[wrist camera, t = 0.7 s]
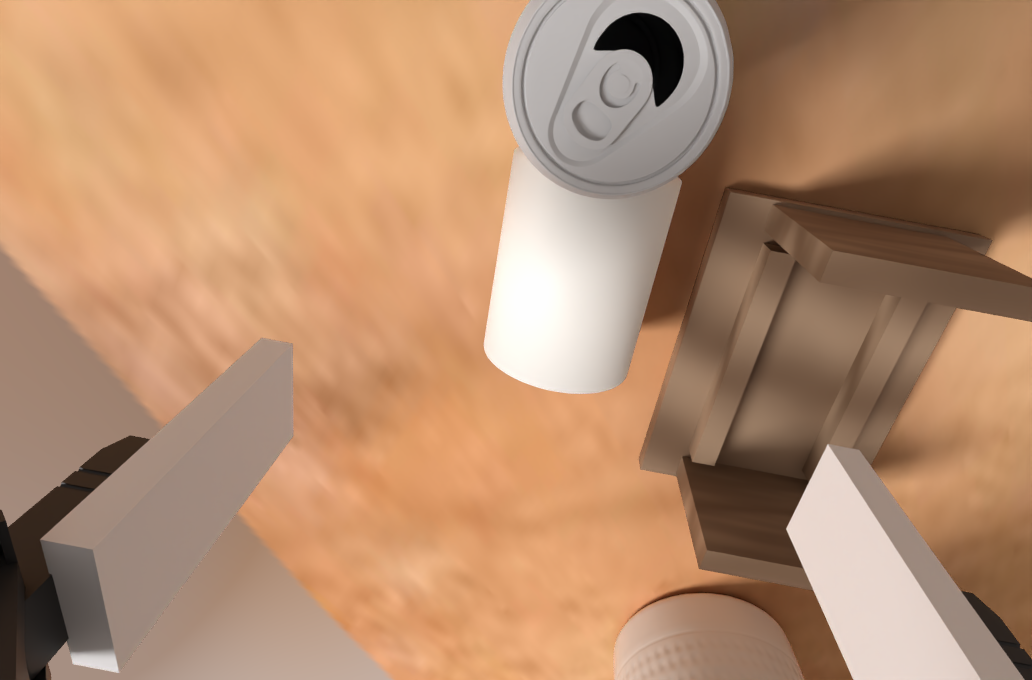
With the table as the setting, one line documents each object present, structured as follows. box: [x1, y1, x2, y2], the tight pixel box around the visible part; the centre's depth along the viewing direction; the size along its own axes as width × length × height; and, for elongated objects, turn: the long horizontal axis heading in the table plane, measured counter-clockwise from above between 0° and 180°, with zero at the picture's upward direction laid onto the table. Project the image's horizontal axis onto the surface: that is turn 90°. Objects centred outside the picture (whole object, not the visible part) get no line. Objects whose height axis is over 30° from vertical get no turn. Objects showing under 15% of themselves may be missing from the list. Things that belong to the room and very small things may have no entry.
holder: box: [639, 188, 1032, 591], centre depth 28 cm, size 16×12×8 cm
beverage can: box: [503, 0, 734, 199], centre depth 21 cm, size 6×6×12 cm
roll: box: [484, 147, 682, 394], centre depth 26 cm, size 9×7×7 cm
